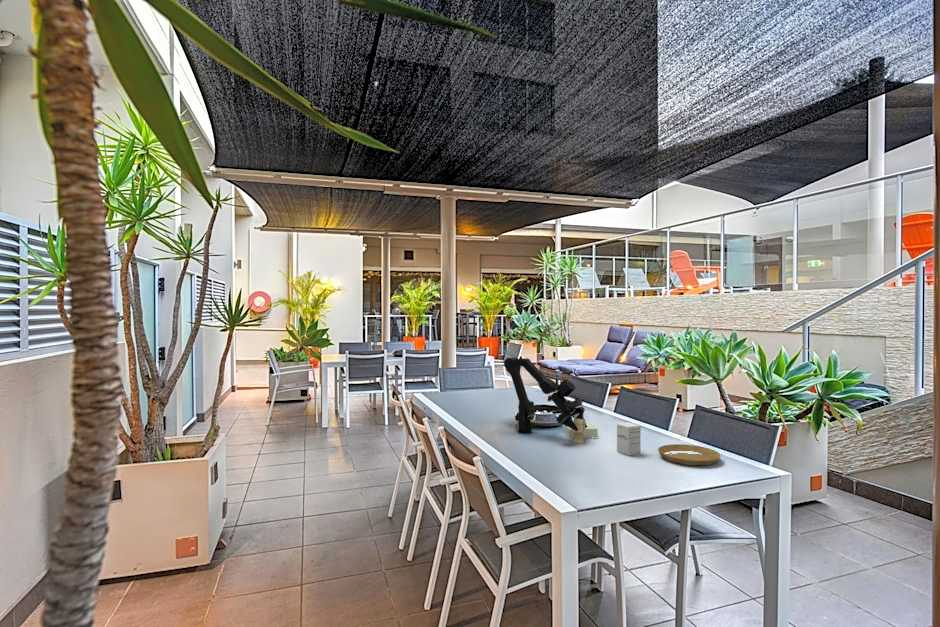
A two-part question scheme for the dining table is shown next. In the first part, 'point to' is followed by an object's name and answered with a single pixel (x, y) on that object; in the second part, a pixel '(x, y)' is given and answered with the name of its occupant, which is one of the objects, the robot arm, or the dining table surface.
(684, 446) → the plant saucer
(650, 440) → the dining table surface
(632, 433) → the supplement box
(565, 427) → the slot box
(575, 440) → the maple block
